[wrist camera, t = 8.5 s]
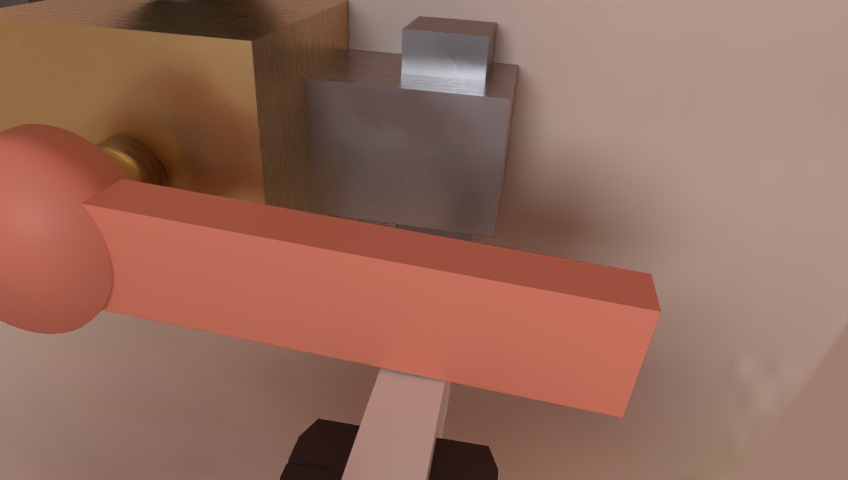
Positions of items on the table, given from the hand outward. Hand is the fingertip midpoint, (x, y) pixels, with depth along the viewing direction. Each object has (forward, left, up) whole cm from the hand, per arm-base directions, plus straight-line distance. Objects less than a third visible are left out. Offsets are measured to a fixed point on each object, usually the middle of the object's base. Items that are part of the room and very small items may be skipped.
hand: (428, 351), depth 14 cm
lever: (-3, +3, +1) cm, 4 cm away
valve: (-8, +3, -8) cm, 12 cm away
